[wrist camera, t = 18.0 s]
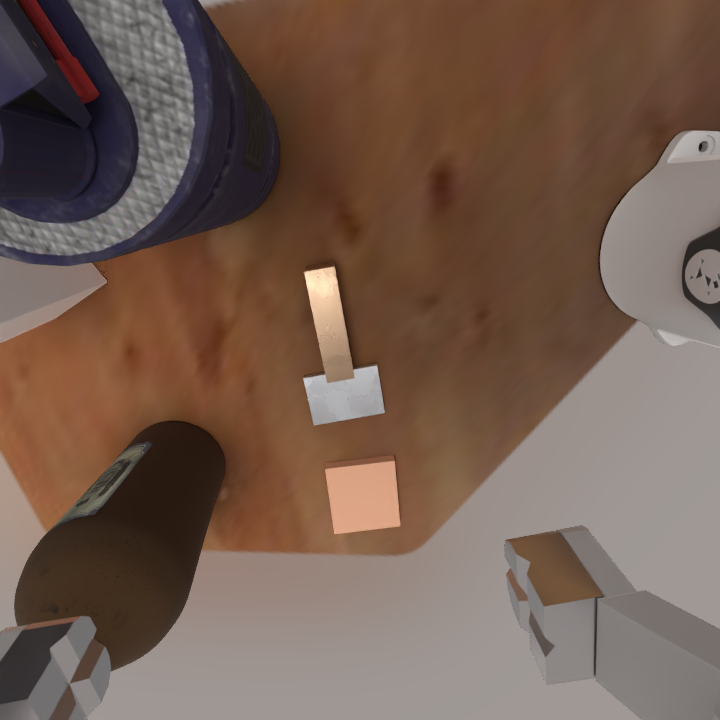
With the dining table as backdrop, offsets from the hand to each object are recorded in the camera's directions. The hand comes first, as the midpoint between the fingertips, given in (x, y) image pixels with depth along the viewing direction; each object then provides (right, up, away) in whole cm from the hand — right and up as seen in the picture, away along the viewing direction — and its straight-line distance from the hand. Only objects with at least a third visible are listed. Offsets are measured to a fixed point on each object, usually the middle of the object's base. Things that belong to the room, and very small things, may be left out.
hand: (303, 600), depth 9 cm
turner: (-1, +6, +34) cm, 35 cm away
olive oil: (-17, -5, +37) cm, 41 cm away
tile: (+1, -6, +38) cm, 38 cm away
